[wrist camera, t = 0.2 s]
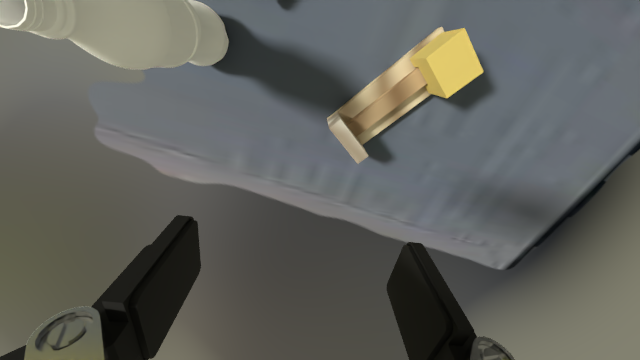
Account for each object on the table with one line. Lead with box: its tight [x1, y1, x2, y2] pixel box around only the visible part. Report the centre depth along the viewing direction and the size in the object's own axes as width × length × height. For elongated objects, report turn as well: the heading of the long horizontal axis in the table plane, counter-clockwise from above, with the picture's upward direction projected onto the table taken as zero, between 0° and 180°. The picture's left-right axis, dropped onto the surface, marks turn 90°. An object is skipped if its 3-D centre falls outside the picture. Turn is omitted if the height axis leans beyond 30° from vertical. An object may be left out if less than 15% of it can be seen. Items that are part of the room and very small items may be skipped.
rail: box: [327, 27, 444, 163], centre depth 35 cm, size 20×7×6 cm, turn 129°
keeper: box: [409, 28, 483, 98], centre depth 32 cm, size 5×6×6 cm
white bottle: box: [0, 0, 229, 70], centre depth 22 cm, size 7×7×25 cm
